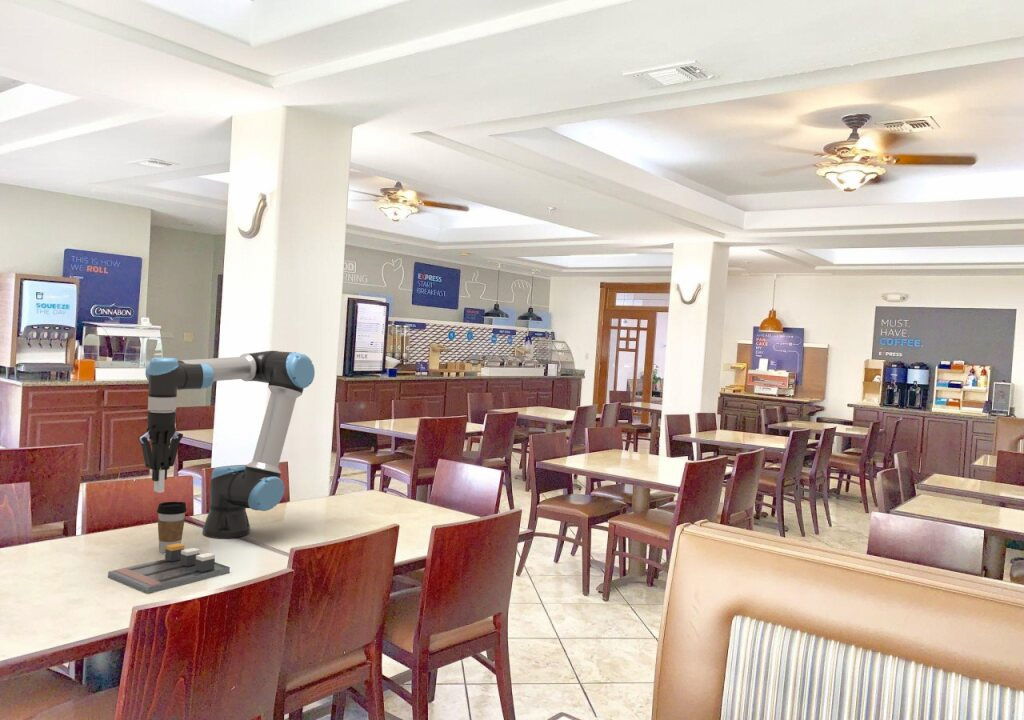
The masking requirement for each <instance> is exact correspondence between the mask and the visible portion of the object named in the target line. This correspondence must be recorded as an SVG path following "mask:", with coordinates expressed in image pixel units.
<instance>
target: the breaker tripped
mask: <svg viewBox="0 0 1024 720" xmlns="http://www.w3.org/2000/svg"><path fill="white" fill-rule="evenodd" d="M181 550H185V545H184V544H183V543H181V544H180V543H176V544H171V545H166V550H165V553H164V559H166V560H169V561H175V560H179V559H181Z"/></svg>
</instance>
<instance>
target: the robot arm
mask: <svg viewBox="0 0 1024 720" xmlns="http://www.w3.org/2000/svg"><path fill="white" fill-rule="evenodd" d="M315 371H316V370H315V366H314V364H313V360H311V358H310V357H309V356H308V355H306V354H303V353H299V352H296V351H293V352H291V351H281V350H268V351H267V350H265V351H259V352H252V353H251V352H250V353H243V354H240V356H234V357H233V356H232V357H231V356H230V357H216V358H215V357H214V358H199V359H182V360H181V359H180V360H178V359H177V358H174V357H153V358H151V359H150V361H149V363H148V364H147V366H146V368H145V378H146V380H147V381H148V392H147V393H148V396H147V400H148V401H147V410H149V411H148V412H147V418H146V421H147V428H146V431H145V432H146V433H144V434H143V435H139V436H138V437H137V439H138V441H139V443H140V444H141V449H142V454H143V460H144V465H145V468H146V469H151V481H153V482H154V483H153V492H155V493H159V494H161V493H165V481H167V478H168V470H169V469H170V468H171V467H174V465H175V462H176V457H177V453H178V450H179V445H180V443H181V440H182V438H183V437H184V435H183V433H180V432H178V431H177V428H176V426H175V425H176V422H177V413H176V410H177V397H178V396H177V395H178V391H181V390H202V389H208V388H210V387H211V386H212V385H213V383H214V382H219V381H220V382H221V381H232V380H233V381H234V380H241V381H242V382H243V381H244V382H259V383H265V384H267V388H268V389H269V390H270V391H269V392H270V395H269V398H268V403H267V406H266V409H265V413H264V417H263V421H262V424H261V427H260V431H259V434H258V438H257V442H256V446H255V449H254V453H253V458H252V460H251V462H249V463H247V464H234V465H232V464H231V465H221V466H216V467H214V468H213V469H212V472H211V477H210V492H209V493H210V494H209V497H210V498H209V511H208V514H207V516H206V519H205V521H204V524H203V527H202V535H203V536H206V537H207V538H208V537H209V538H212V539H213V538H214V539H235V538H241V537H244V536H248V535H249V534H250V531H251V524H250V522H249V517H248V514H247V510H246V509H250V510H253V511H261V512H268V511H270V510H273V508H275V507H276V506H277V505H278V504H279V503H280V501H281V500H282V498H283V496H284V493H285V485H284V482H283V481H282V479H281V475H282V472H281V470H280V468H279V465H280V460H281V457H282V454H283V450H284V446H285V442H286V438H287V435H288V431H289V427H290V424H291V419H292V416H293V412H294V409H295V405H296V400H297V399H298V398H299V397H301V396H302V395H303V392H304V389H306V388H308V387H310V385H311V384H313V381H314V380H315V373H316V372H315ZM150 441H151V443H150Z"/></svg>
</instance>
